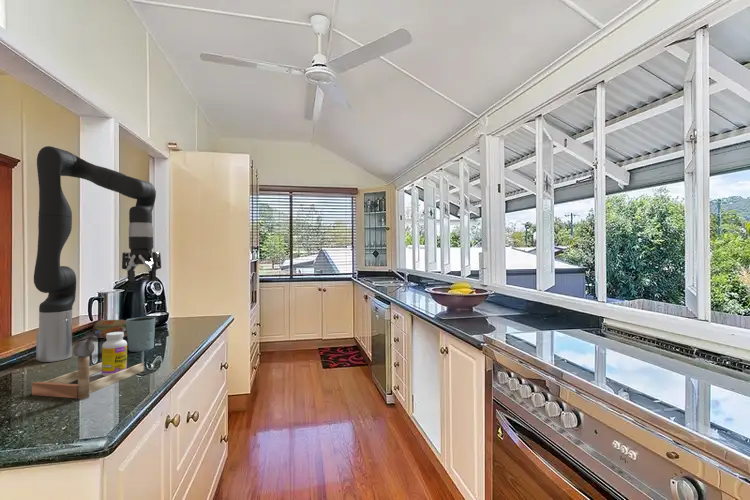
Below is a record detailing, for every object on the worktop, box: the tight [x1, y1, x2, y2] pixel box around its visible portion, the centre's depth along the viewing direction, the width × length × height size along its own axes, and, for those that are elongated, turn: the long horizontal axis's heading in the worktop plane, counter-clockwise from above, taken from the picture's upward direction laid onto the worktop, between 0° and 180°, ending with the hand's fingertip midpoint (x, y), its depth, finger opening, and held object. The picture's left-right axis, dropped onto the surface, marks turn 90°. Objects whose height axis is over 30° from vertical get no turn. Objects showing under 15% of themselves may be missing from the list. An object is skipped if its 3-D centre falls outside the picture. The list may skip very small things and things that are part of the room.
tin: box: [92, 319, 127, 339], centre depth 171 cm, size 15×3×8 cm, turn 91°
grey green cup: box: [125, 316, 156, 353], centre depth 154 cm, size 10×10×12 cm
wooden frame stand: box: [31, 335, 145, 400], centre depth 114 cm, size 25×19×16 cm
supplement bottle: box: [101, 332, 128, 377], centre depth 123 cm, size 7×7×13 cm
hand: (141, 281), depth 138 cm, fingers open, 8 cm apart
